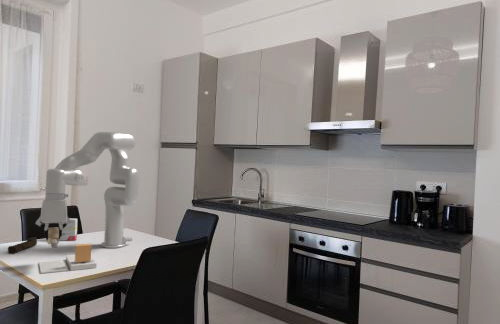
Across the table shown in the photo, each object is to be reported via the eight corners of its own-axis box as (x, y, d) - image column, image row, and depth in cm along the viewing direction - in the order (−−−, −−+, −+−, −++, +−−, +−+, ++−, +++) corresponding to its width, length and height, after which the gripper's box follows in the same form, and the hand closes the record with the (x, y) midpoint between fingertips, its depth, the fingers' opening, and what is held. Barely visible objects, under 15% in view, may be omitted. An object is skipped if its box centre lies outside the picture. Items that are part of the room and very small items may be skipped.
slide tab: (89, 259, 167) (90, 243, 167) (90, 261, 164) (91, 245, 164) (74, 260, 163) (75, 244, 163) (75, 262, 161) (76, 246, 161)
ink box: (77, 238, 215) (78, 218, 214) (74, 240, 210) (75, 219, 210) (60, 238, 213) (61, 217, 213) (58, 240, 208) (59, 219, 208)
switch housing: (89, 257, 178) (89, 253, 178) (96, 267, 163) (96, 263, 163) (66, 259, 173) (66, 255, 173) (70, 270, 158) (71, 265, 158)
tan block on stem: (57, 240, 169) (57, 227, 169) (60, 247, 157) (60, 232, 157) (47, 241, 167) (47, 227, 167) (49, 248, 155) (49, 233, 155)
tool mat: (64, 261, 171) (64, 259, 171) (68, 270, 157) (68, 269, 157) (38, 263, 165) (38, 262, 165) (40, 273, 152) (40, 272, 152)
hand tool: (15, 254, 178) (15, 244, 178) (7, 253, 178) (7, 244, 178) (41, 245, 197) (41, 236, 197) (34, 245, 197) (34, 236, 197)
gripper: (74, 196, 173) (72, 236, 173) (32, 196, 164) (30, 238, 164) (77, 197, 166) (74, 239, 166) (33, 198, 158) (31, 242, 158)
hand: (52, 238), depth 165 cm, fingers closed on tan block on stem, 4 cm apart
